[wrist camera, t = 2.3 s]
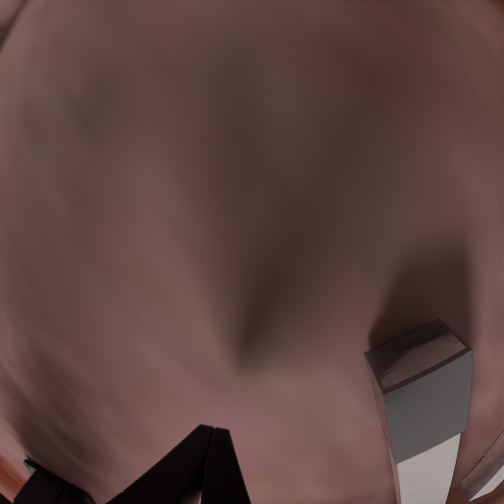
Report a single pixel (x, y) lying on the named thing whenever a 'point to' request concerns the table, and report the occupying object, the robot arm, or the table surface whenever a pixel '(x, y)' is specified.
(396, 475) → the tong arm
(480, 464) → the base
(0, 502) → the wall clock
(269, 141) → the table surface
